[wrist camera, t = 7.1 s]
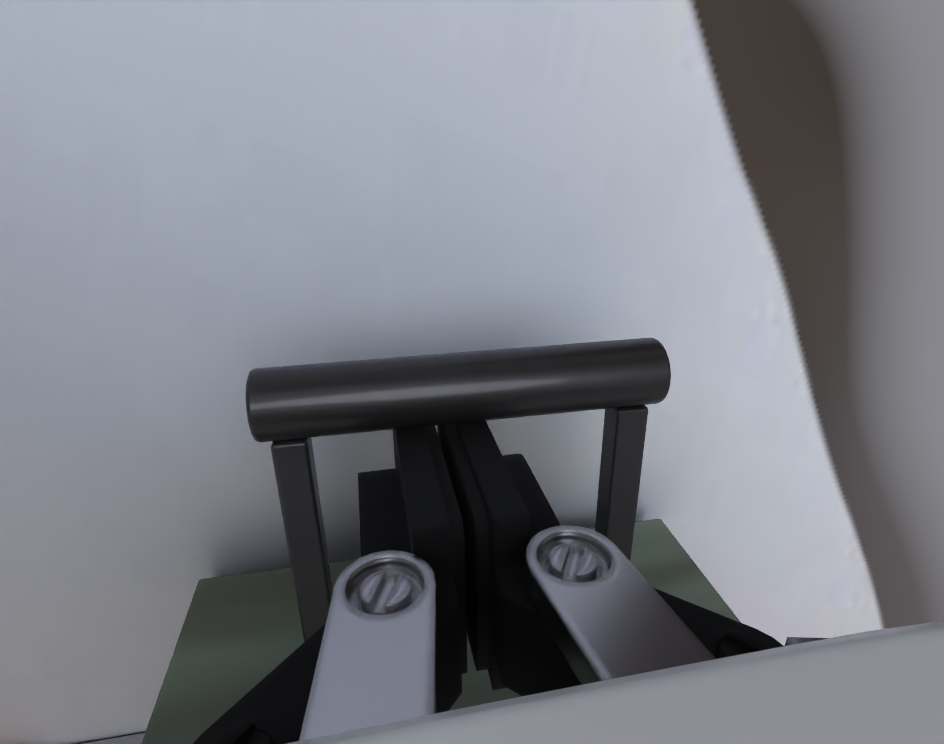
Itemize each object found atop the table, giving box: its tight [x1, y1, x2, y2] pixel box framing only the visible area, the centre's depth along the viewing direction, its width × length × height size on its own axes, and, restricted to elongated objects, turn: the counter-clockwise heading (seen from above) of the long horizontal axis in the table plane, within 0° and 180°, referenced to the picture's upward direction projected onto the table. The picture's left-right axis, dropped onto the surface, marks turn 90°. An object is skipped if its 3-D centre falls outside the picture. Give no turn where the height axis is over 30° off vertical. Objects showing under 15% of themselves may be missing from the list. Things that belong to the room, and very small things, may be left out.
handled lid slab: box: [142, 338, 741, 744], centre depth 15 cm, size 21×13×7 cm, turn 0°
